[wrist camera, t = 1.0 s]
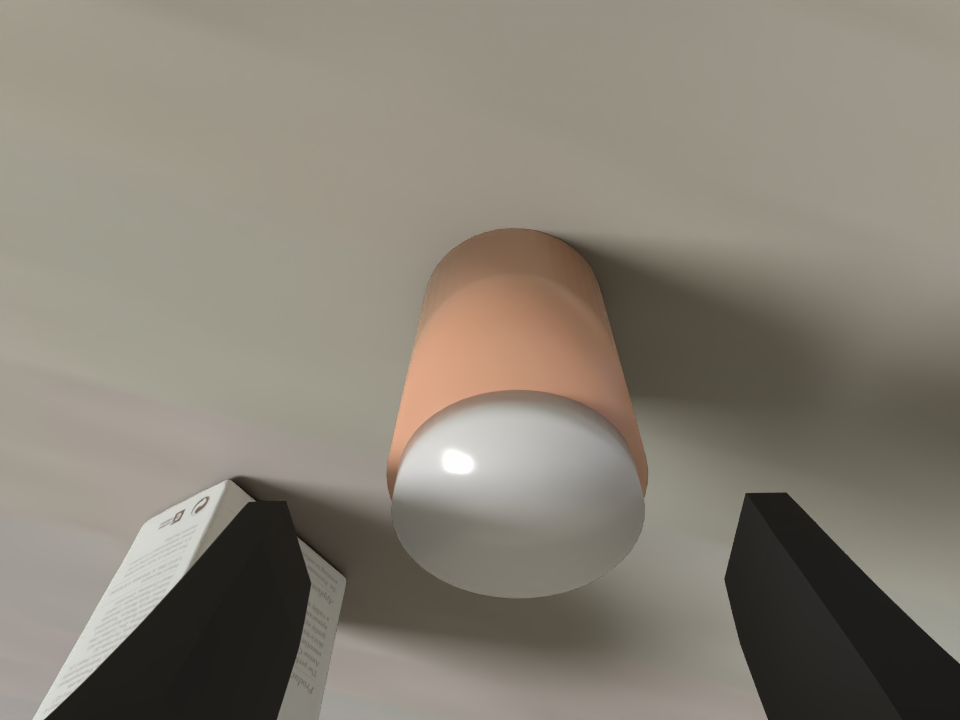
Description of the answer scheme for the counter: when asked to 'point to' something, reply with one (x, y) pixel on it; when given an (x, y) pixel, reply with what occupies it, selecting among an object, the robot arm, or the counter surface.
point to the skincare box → (159, 567)
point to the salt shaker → (516, 424)
